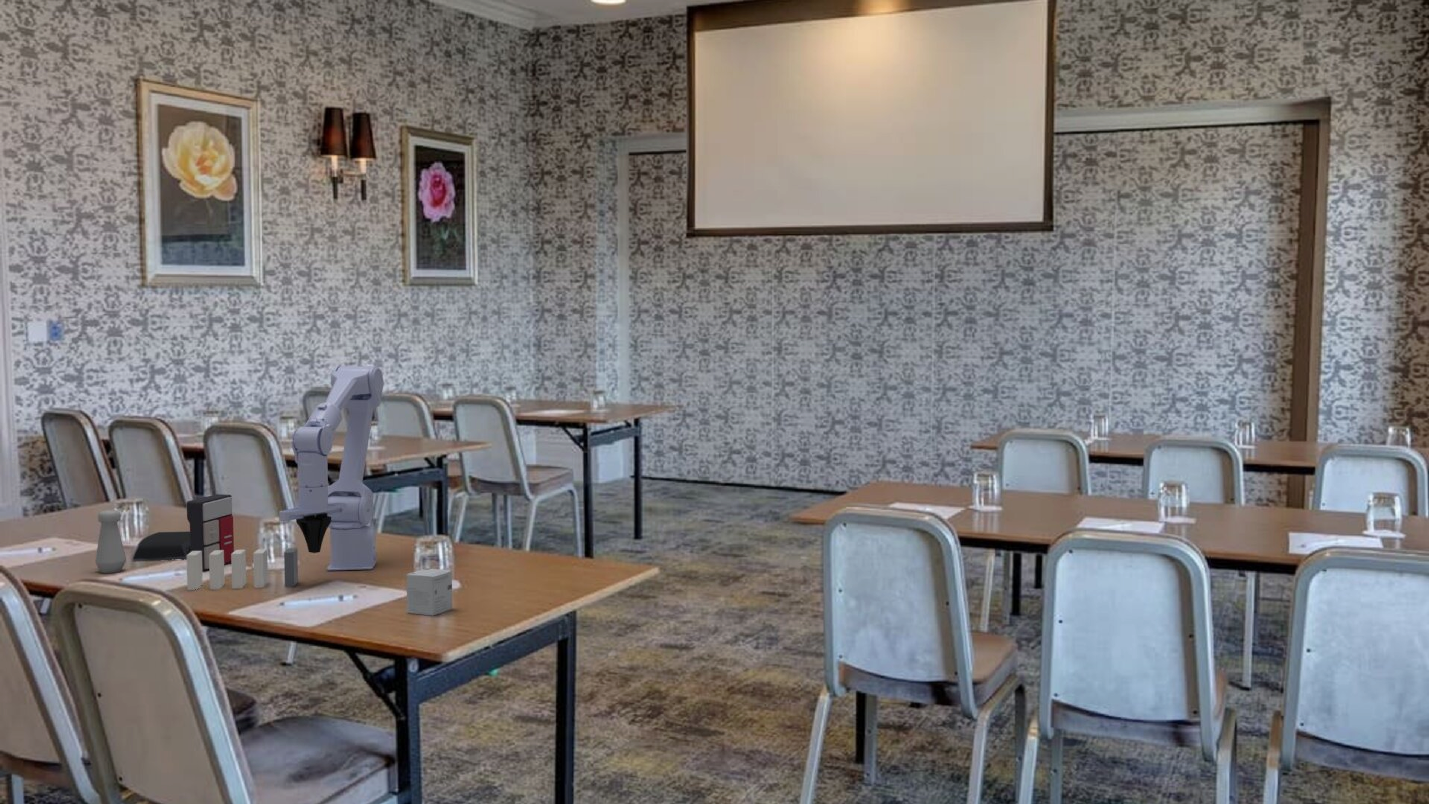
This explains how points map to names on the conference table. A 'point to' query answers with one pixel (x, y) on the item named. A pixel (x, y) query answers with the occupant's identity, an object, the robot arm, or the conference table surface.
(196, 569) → the tile
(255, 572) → the tile
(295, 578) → the tile
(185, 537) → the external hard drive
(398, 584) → the conference table surface
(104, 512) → the salt shaker
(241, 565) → the tile
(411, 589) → the skincare box
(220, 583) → the tile
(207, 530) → the calculator
